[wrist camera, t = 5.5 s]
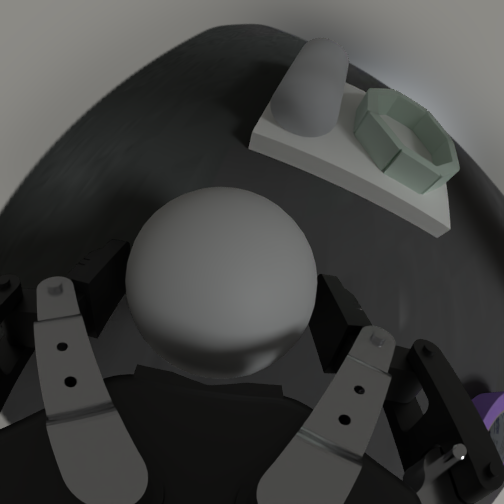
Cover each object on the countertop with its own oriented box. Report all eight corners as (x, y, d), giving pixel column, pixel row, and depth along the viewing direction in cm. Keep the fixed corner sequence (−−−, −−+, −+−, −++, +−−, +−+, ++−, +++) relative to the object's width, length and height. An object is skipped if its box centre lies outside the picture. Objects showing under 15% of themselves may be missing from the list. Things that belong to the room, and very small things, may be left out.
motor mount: (428, 144, 27) (459, 109, 21) (437, 238, 22) (488, 203, 15) (289, 74, 27) (305, 26, 20) (248, 148, 21) (265, 79, 15)
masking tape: (428, 436, 15) (460, 441, 11) (493, 372, 18) (520, 368, 14) (433, 514, 11) (457, 524, 8) (496, 450, 14) (519, 451, 11)
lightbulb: (167, 368, 15) (97, 392, 4) (162, 269, 17) (112, 150, 7) (269, 360, 16) (373, 364, 6) (258, 264, 18) (323, 148, 8)
